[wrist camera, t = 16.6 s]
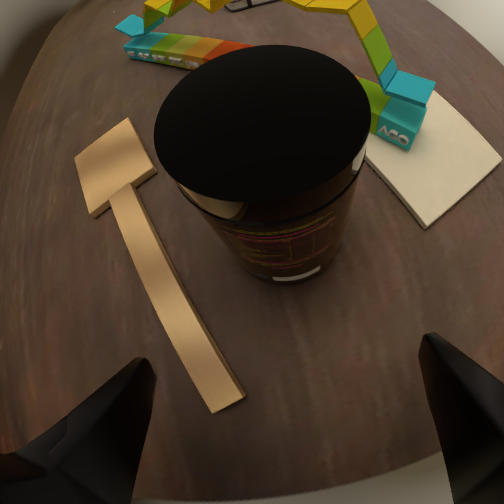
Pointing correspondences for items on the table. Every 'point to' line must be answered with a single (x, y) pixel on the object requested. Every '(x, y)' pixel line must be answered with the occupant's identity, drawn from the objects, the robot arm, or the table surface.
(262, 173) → the supplement container
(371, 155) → the napkin
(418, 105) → the chart
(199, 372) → the spatula
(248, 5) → the notebook
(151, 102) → the table surface
